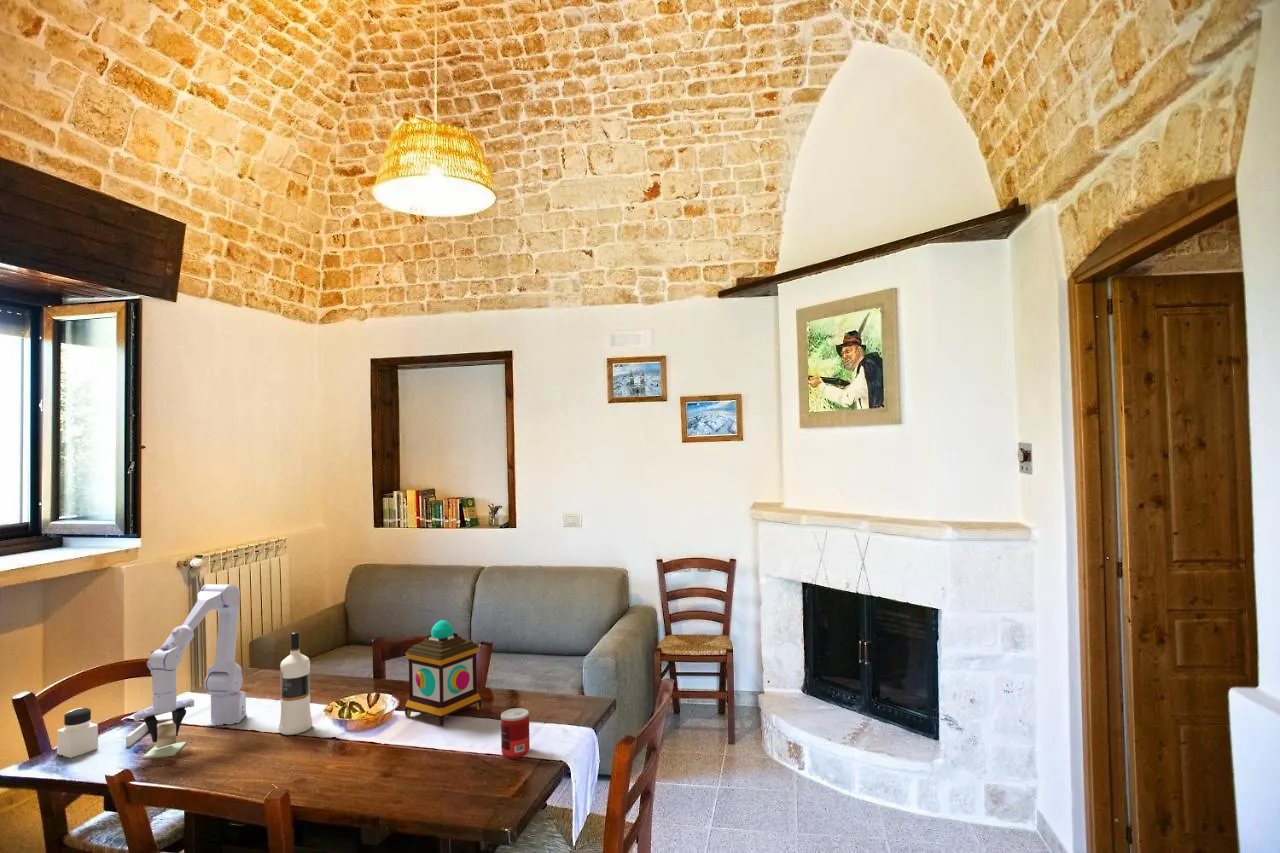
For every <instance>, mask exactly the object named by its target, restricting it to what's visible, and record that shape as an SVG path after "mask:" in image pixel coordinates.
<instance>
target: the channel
mask: <svg viewBox="0 0 1280 853" xmlns="http://www.w3.org/2000/svg"><path fill="white" fill-rule="evenodd" d="M157 720H158V722H157V724H160V723H163V722H167V721H173V719H172V718H164V719H157ZM148 732H149V733H150V731H149V729H148V727H147V725H146V723H145V722H144V721H143V723H141V725H139V726H138V727H137V728H135V729H133V731H131V732H130V733H129V734H128V735H126V736H125V747H127V748H129V747H131V746H133V744H135V743H136V742H137V741H139V740H140V739H141V738H143V736H146V734H147V733H148Z"/></svg>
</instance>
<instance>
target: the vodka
mask: <svg viewBox="0 0 1280 853" xmlns="http://www.w3.org/2000/svg"><path fill="white" fill-rule="evenodd" d="M289 636H290V639H289V640H290V652H289V653H290V654H289V655H288V656H286V657H285V658H284V659H283V660H282V661H281V662H280V665H279V668H280V699H279V701H280V720H279V724H278V731H279V732H280V734H282V735H284V736H294V735H295V734H296V735H300V734H302V732H303V733H306V732H308V731H309V729H311V728H312V726H313V718H312V713H311V691H310V686H311V685H310V684H311V683H310V672H311V669H310V668H311V661H310V658H309V656H306V655H305V654H304V653H303V654H302V652H301V651H300V650H301V649H300V645H301V644H300V637H301V636H300V632H299V631H293V632H290V634H289ZM299 733H300V734H299Z"/></svg>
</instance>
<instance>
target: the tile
mask: <svg viewBox="0 0 1280 853" xmlns="http://www.w3.org/2000/svg"><path fill="white" fill-rule="evenodd" d="M186 745H187V741H182V742H176V743H175V744H171V745H168V746H165V747H161V748H157V747H156V746H154V745H153V747H152V748H151V749H150V750H148V752H146V754H144V755H143V756H142V759H143V760H144V759H154V758H164V757H165V758H166V757H171V756H173V757H174V756H176V755H177V754H178V753H179V751H181V750H182V749H183V748H184V747H185V746H186Z"/></svg>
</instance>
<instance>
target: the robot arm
mask: <svg viewBox="0 0 1280 853" xmlns="http://www.w3.org/2000/svg"><path fill="white" fill-rule="evenodd" d="M240 595H241V590H240V589H239V588H238V586H237V585H235V584H232V583H231V584H230V583H229V584H213V583H212V584H211V583H207V584H204V585H203V586H202V587H201V589H200V591H199V592H198V593H197V594H196V598H197V601H196V602H195V604H194V606H193V607H192V609H191V611H190V613H189V614H188V615H187V616H186V618H185V620H184V622H183V623H182V625H180V626H176V627H174V628H173V629H172V631H171V633H170V635H168V637H167V638H166V640H165V641H164V642H163V643H162V644H161V646H160V648H159V649H156V650H154V651H153V652H152V653H151V654H150V655H149V657H148V661H147V662H146V665H147V668H148V669H149V670H150V675H151V676H152V706H151V707H149V708H145V709H143V710H141V711H137V712H134V713H133V721H134V722H136V723H137V722H140V721H141V720H143V723H144V722H145V723H146V725H147V727H148V729H149V731H150V732H149V734H150V737H151V742H152V743H153V742H154V743H155V742H157V722H158V720H159V719H157V717H156V716H160V715H164V714H167V713H171V719H173V722H174V723H175V724H176V737H178V734H179V731H180V728H181V725H182V722H183V719H184V718H185V716H186V714H187V710H186V709H187V708H194V707H195V699H194V698H189V699H183V700H177V668H178V666H180V665H181V663H182V658H183V655H184V651H185V650H186V648H187V647H188V645H189V644H190V643H191V641H192V640H193V638H194V637H195V633H194V631H195V629H196V628H197V627H198V625H200V623H201V622H202V621H203V619H204V618H205V617H206V616H207V615H208V614H209V612H210V611H212V610H216V612H217V613H219V616H218V625H217V626H218V627H217V639H216V649H215V660H214V663H213V664H212V665H210V667H208V668H207V674H206V676H205V678H204V683H203V684H204V686H203V687H204V689H205V691H206V692H208V695H210V720H209V721H208V722H207V723H206V724H205V727H216V725H217V726H224V725H223V724H227V725H235V724H234V723H237V724H240V722H241V721H242V720H243V719H244V718H245V717H244V716H245V715H246V714H247V698H246V696H247V695H246V692H245V691H240V689H241V687H242V685H243V683H244V682H243V681H244V680H243V679H244V678H243V675H242V671H243V670H242V666H240V665H239V663H237V662H236V661H235V660H236V658H235V657H236V648H237V647H236V646H237V637H238V636H237V635H238V625H239V624H238V622H239V611H240ZM246 716H247V715H246Z"/></svg>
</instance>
